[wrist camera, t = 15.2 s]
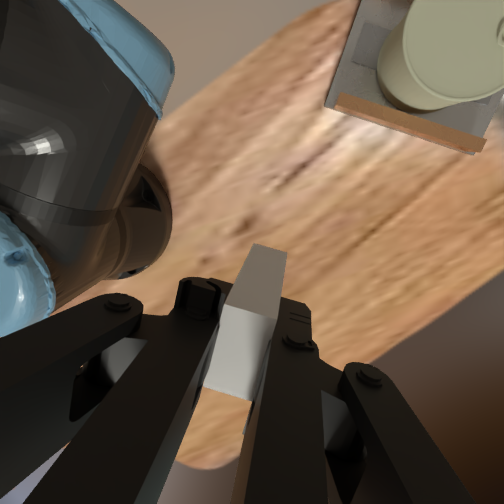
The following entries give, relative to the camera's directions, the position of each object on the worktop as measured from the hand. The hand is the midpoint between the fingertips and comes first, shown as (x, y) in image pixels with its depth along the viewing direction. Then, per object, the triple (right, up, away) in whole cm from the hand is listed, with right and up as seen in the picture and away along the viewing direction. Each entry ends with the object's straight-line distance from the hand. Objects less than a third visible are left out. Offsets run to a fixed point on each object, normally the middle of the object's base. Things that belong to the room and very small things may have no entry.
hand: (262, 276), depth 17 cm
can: (+16, +19, +21) cm, 33 cm away
